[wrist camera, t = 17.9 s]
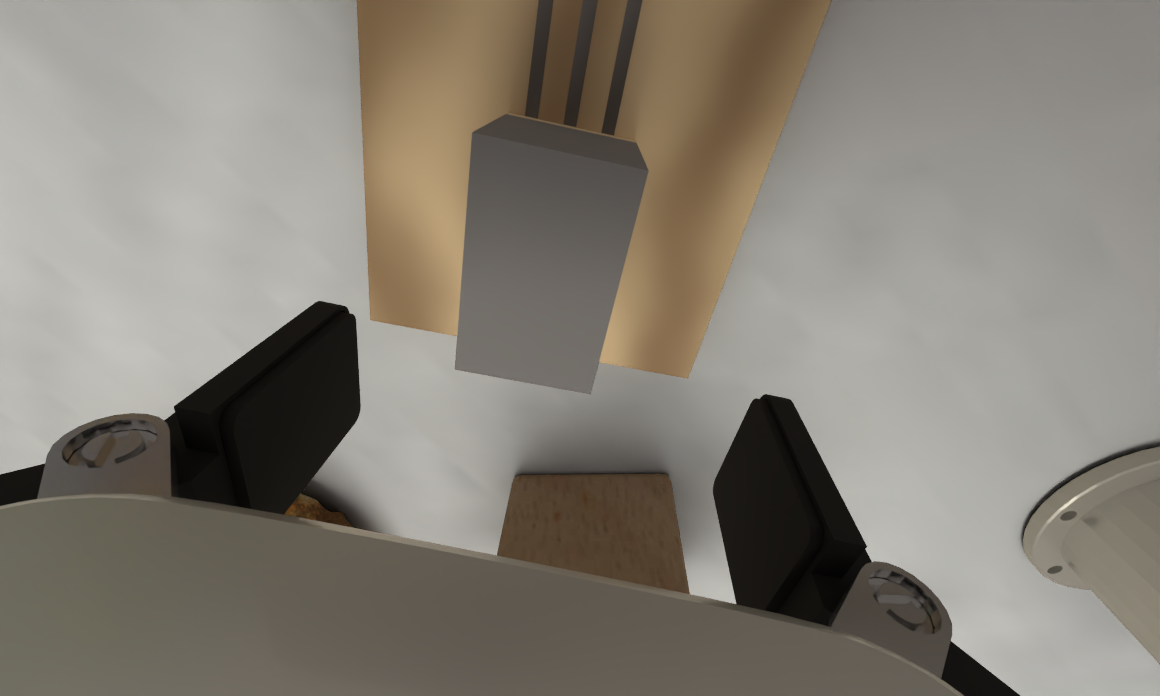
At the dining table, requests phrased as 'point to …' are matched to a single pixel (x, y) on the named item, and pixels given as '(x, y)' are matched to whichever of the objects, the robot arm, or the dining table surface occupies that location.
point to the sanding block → (544, 249)
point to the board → (588, 101)
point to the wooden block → (597, 527)
